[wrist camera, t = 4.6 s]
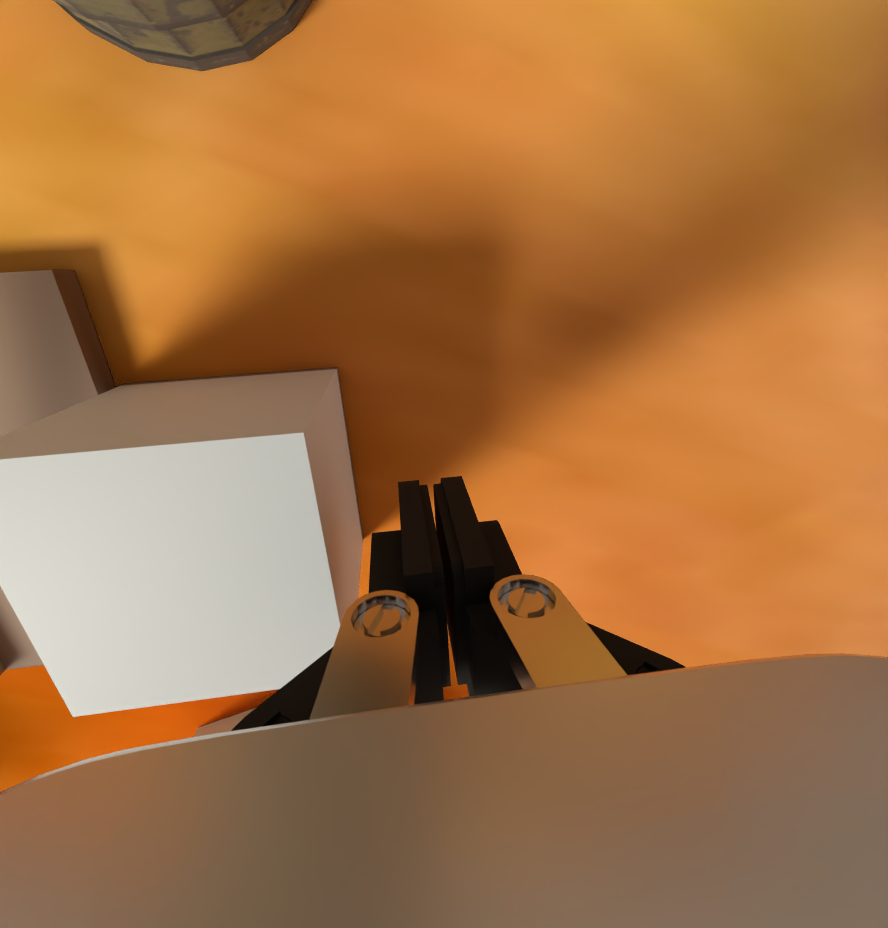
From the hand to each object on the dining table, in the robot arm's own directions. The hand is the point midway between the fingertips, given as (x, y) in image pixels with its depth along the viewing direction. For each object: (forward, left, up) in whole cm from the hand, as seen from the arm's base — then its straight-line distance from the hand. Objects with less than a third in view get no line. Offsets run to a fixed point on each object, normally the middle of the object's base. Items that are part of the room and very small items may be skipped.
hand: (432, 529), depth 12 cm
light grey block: (+6, 0, -6) cm, 8 cm away
